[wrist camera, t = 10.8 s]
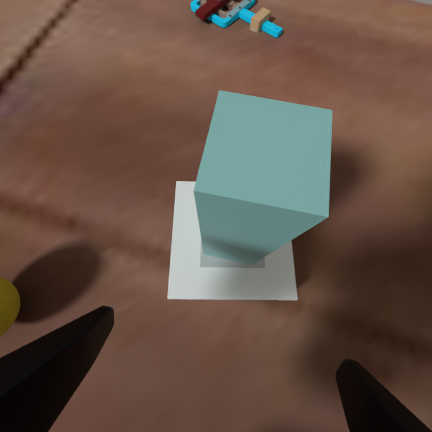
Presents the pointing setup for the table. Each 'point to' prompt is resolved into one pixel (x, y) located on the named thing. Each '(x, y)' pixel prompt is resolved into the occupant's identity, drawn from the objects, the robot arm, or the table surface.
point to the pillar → (262, 175)
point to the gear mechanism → (235, 14)
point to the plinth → (222, 263)
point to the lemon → (8, 304)
